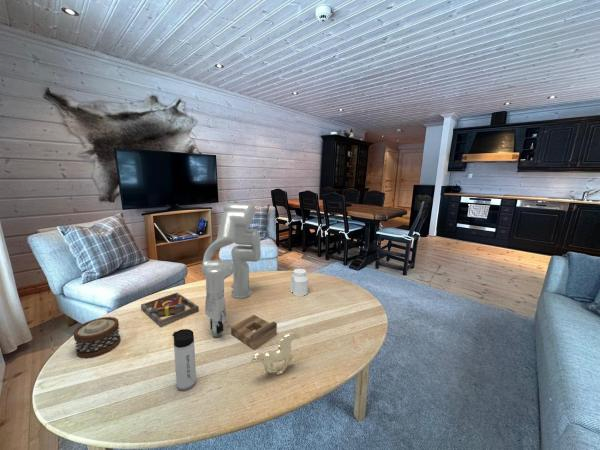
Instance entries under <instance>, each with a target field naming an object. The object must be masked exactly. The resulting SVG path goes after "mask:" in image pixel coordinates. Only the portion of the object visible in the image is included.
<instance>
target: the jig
mask: <svg viewBox="0 0 600 450" xmlns="http://www.w3.org/2000/svg"><path fill="white" fill-rule="evenodd" d="M277 327H278V324H277V322H275V321H272V322H271V323H270V322H268V321H267V320H264V319H263V318H261V317H259V316H257V315H256V314H253V315H251V316H249V317H247V318H245V319H243V320H241V321H239V322H238V323H236V324H234V325H232V326H231V327H230V335H231V336H232V337H234V338H236V339H237V340H238V341H240V342H241V343H243V344H244V345H245V346H247V347H249V348H250V349H251V350H256V349H258V348H259V347H261V346H262V345H264V344H265V343H266V342H269V340H271V339H272V338H274V337H276V335H277V334H278V333H277V332H278V331H277V329H278V328H277Z"/></svg>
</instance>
